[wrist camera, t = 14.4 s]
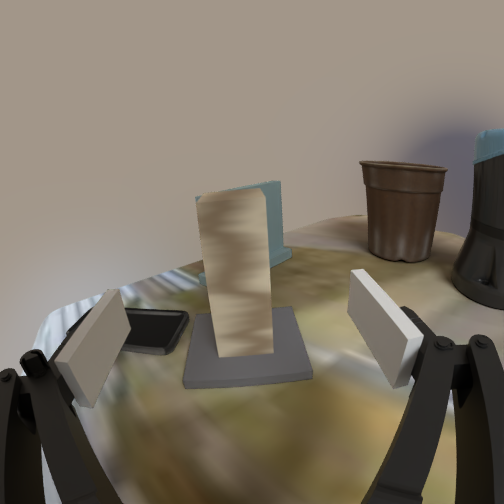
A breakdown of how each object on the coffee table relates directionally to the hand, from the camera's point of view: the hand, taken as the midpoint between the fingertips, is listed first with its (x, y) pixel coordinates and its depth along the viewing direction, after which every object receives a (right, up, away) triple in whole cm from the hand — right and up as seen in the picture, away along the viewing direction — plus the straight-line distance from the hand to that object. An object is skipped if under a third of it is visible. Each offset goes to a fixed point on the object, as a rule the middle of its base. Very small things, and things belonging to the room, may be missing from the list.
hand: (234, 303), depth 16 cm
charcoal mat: (0, -7, +12) cm, 14 cm away
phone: (-14, -7, +16) cm, 23 cm away
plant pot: (+28, +3, +33) cm, 44 cm away
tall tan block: (0, -6, +12) cm, 13 cm away
